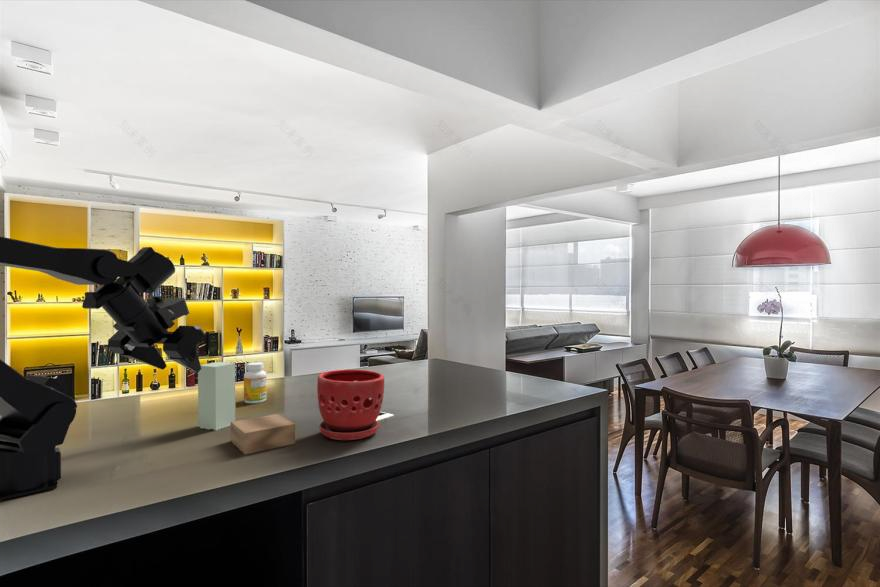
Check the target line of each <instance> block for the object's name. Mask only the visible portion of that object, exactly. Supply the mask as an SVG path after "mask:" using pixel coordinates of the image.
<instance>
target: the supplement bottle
mask: <svg viewBox="0 0 880 587" xmlns="http://www.w3.org/2000/svg"><path fill="white" fill-rule="evenodd" d="M264 367H265V366H264V362H257V361H256V362H249V363H247V364H246V372H244V374H243V400H244V401H243V402H244V403H246V404H260V403H263V402H265V401H267V397H268V396H267V372H266V371H264Z"/></svg>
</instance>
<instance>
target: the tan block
mask: <svg viewBox="0 0 880 587" xmlns="http://www.w3.org/2000/svg"><path fill="white" fill-rule="evenodd" d="M230 442H231V443H232V444H233V445H234V446H235V447H236V448H237V449H238V450H239V451H240V452H242V453H243V454H244V455H248V454H253V453H258V452H263V451H266V450H267V451H268V450H272V449H275V448H280V447H281V448H282V447H285V446H286V447H287V446H291V445H294V444H296V423H294V422H293V421H291V420H289V419H287V418H285V417H284V416H283V415H280V414H279V413H274V414H269V415H264V416H257V417H251V418H245V419H240V420H239V419H238V420H235V421H233V422H231V426H230Z"/></svg>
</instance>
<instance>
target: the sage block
mask: <svg viewBox="0 0 880 587" xmlns="http://www.w3.org/2000/svg"><path fill="white" fill-rule="evenodd" d="M200 365H201V370H200V371H199V372H198V373H197V394H198V395H197V397H198V398H197V400H198V402H197V405H198V406H197V408H198V409H197V412H198V413H197V415H198V417H197V419H198V420H197V421H198V425H197V426H198V427H200V428H199V429H204V428H205V430H210V429H213V430H212V431H218V429H219V430H221V428H222V429H224V428H227V427H231V422H233V421H236V363H234V362H225V361H216V362H209V363H205V364H204V363H203V364H200ZM198 427H197V428H198Z"/></svg>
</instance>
